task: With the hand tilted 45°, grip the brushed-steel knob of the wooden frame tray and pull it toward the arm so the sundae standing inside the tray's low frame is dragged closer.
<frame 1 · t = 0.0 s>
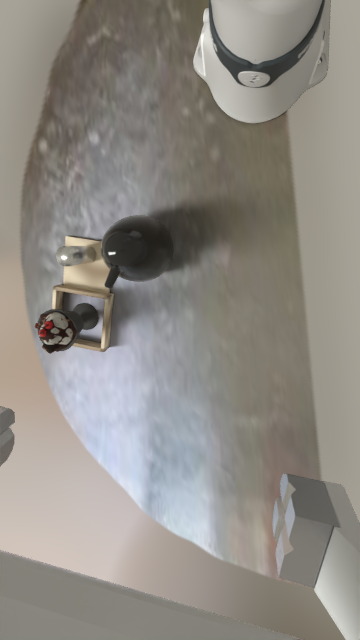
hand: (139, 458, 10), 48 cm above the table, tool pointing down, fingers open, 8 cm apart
pump dispenser: (147, 249, 57), on the table
wooden frame tray: (75, 296, 56), point 4 cm above the table, slide at 0.0 cm
sundae: (85, 316, 62), resting in wooden frame tray
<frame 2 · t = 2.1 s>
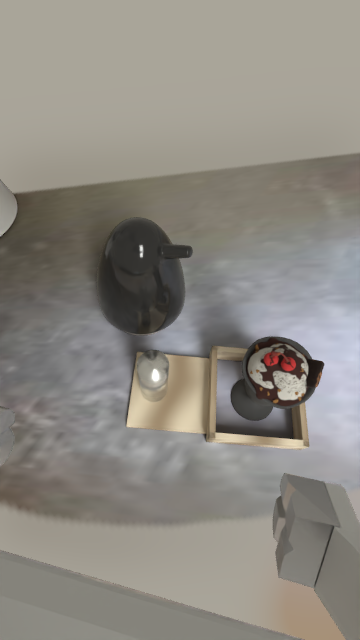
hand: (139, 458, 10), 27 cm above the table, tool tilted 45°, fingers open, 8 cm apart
pump dispenser: (144, 311, 43), on the table
wooden frame tray: (220, 384, 35), point 4 cm above the table, slide at 0.0 cm
sundae: (251, 399, 39), resting in wooden frame tray
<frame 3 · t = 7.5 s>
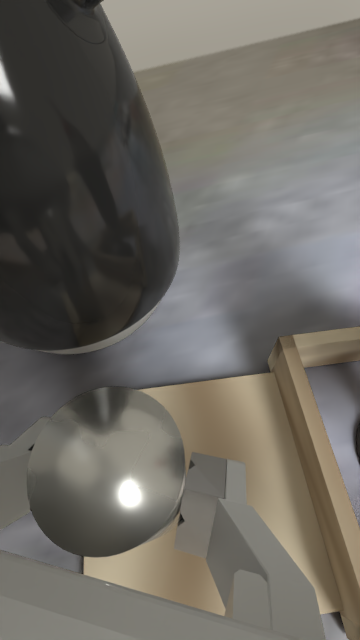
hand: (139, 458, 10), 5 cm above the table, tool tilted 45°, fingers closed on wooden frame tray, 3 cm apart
pump dispenser: (93, 299, 19), on the table
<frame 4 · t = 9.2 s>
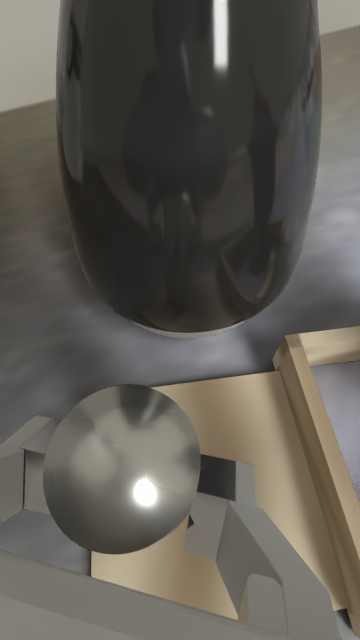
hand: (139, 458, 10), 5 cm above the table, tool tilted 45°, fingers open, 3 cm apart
pump dispenser: (189, 288, 19), on the table
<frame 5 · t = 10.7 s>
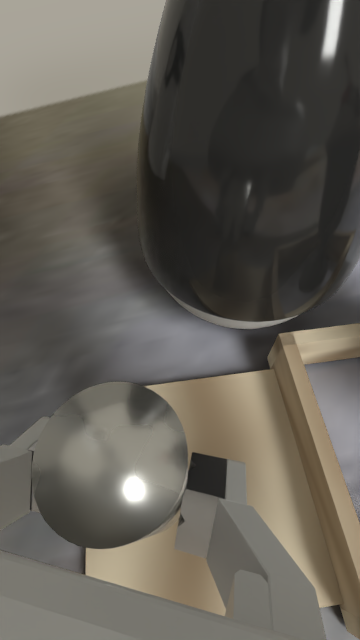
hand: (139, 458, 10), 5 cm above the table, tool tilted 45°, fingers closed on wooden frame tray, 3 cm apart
pump dispenser: (237, 280, 20), on the table
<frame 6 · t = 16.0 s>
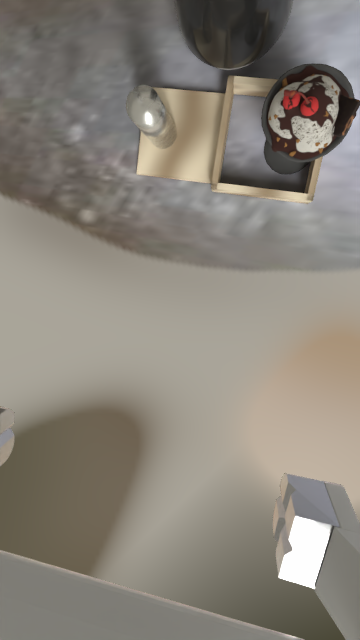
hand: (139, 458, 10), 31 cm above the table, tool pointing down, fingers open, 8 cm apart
pump dispenser: (235, 29, 34), on the table
wooden frame tray: (226, 129, 32), point 4 cm above the table, slide at 8.3 cm
sundae: (287, 149, 35), resting in wooden frame tray
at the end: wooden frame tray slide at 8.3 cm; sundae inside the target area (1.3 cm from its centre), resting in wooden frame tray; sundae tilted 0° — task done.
